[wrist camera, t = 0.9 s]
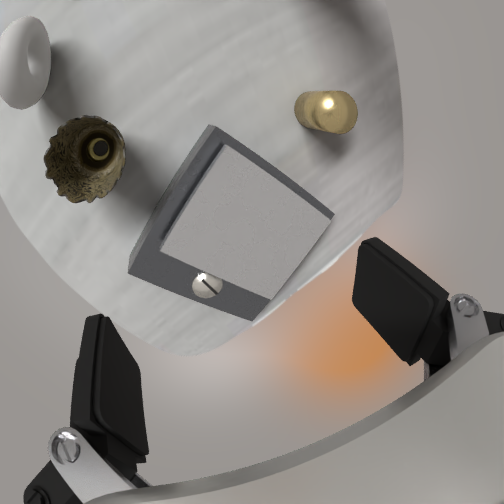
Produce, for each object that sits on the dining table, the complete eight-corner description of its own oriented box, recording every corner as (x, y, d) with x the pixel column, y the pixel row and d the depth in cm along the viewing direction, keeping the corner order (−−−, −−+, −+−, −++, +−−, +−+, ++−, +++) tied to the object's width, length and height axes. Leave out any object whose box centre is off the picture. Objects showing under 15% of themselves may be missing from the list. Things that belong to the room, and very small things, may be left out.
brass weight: (308, 83, 29) (337, 81, 24) (334, 108, 31) (364, 111, 26) (286, 112, 30) (312, 114, 25) (314, 135, 32) (342, 142, 27)
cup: (145, 157, 27) (141, 172, 21) (91, 193, 27) (73, 220, 20) (113, 101, 23) (98, 97, 17) (59, 140, 23) (30, 152, 16)
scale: (208, 124, 28) (216, 126, 24) (318, 203, 37) (336, 215, 33) (129, 255, 32) (127, 275, 28) (243, 303, 41) (253, 323, 37)
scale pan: (224, 143, 25) (227, 145, 24) (327, 217, 32) (331, 221, 32) (159, 246, 27) (159, 251, 27) (268, 295, 35) (271, 300, 34)
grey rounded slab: (57, 103, 21) (17, 103, 12) (31, 112, 20) (-14, 117, 12) (58, 24, 16) (24, -3, 7) (32, 34, 15) (-8, 14, 7)
